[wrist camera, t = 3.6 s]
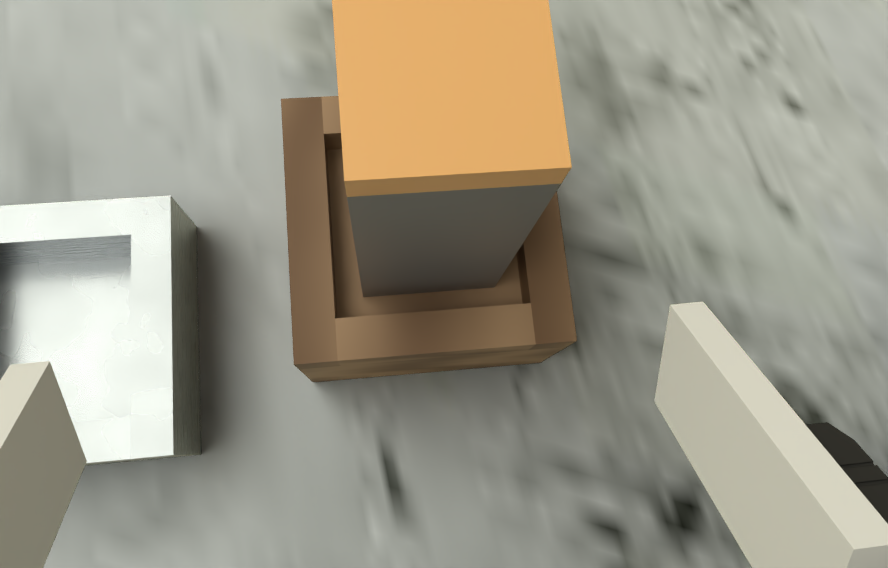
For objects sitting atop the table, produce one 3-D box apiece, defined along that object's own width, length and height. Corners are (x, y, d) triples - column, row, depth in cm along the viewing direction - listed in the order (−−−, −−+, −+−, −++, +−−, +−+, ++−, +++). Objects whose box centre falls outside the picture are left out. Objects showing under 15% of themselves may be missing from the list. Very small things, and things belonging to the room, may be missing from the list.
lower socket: (196, 226, 32) (170, 195, 29) (200, 454, 30) (173, 454, 26) (-40, 241, 32) (-99, 211, 28) (-53, 478, 29) (-120, 482, 25)
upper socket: (514, 153, 34) (542, 85, 28) (540, 362, 32) (576, 341, 26) (301, 165, 33) (281, 98, 27) (312, 382, 31) (293, 364, 25)
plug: (480, 165, 29) (543, -32, 17) (494, 287, 28) (571, 167, 16) (354, 172, 28) (330, -24, 17) (363, 297, 27) (344, 181, 16)
